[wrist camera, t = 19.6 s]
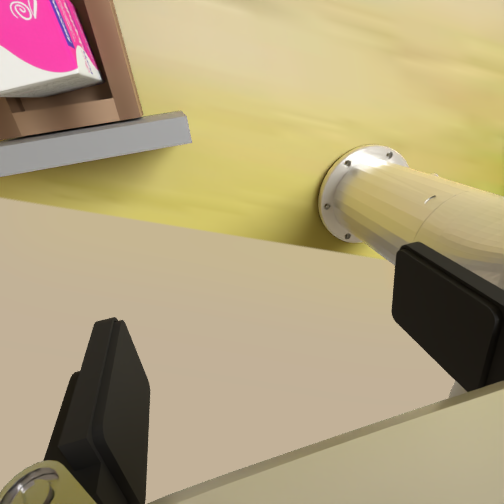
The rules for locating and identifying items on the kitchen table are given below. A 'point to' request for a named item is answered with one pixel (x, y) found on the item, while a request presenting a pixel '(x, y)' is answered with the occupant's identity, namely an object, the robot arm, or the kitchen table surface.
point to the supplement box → (44, 49)
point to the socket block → (86, 99)
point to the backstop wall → (92, 142)
